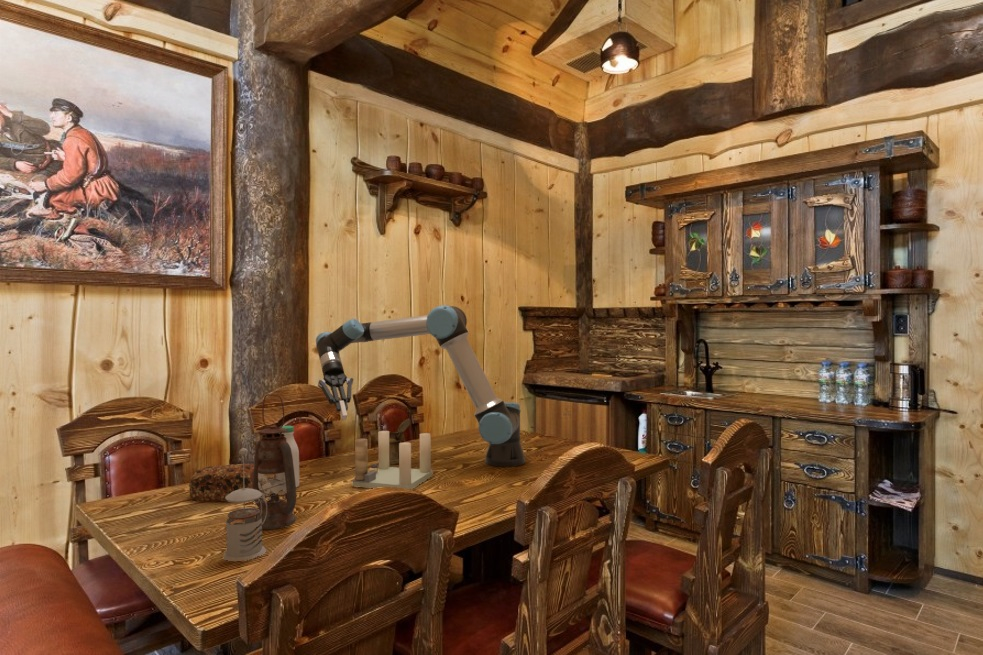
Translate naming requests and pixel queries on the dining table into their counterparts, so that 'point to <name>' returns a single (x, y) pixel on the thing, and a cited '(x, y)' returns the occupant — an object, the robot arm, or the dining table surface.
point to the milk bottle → (295, 453)
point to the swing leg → (362, 460)
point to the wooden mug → (397, 441)
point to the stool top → (404, 473)
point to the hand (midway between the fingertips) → (344, 417)
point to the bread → (219, 481)
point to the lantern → (274, 460)
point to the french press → (244, 525)
